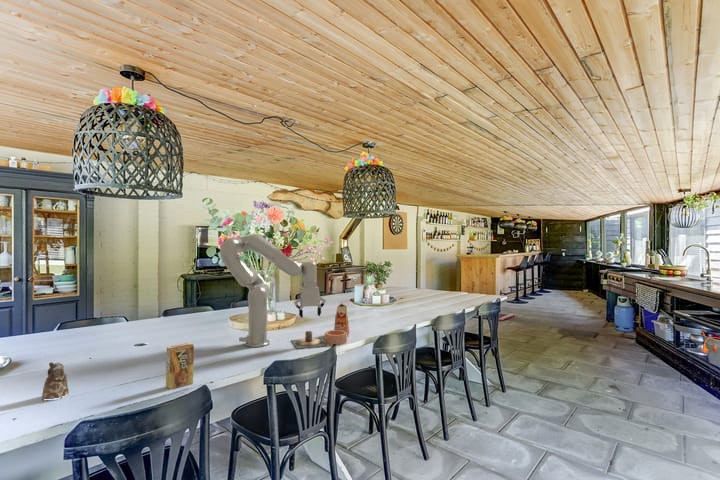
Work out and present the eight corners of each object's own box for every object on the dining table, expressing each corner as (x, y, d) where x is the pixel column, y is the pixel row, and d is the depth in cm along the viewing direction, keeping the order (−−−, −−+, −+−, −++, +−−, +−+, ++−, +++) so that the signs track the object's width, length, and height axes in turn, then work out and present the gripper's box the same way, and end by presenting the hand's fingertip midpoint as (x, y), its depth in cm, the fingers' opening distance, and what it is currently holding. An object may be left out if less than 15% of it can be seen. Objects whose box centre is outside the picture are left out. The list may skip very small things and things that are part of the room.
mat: (297, 349, 192) (297, 348, 192) (291, 341, 207) (291, 340, 207) (327, 346, 198) (327, 345, 198) (319, 338, 213) (319, 337, 213)
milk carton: (348, 336, 218) (349, 302, 218) (332, 336, 218) (333, 302, 218) (349, 332, 227) (350, 299, 227) (334, 332, 228) (334, 299, 227)
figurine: (50, 402, 128) (50, 367, 128) (37, 399, 130) (37, 364, 130) (72, 394, 134) (73, 361, 134) (60, 391, 137) (60, 358, 137)
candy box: (189, 380, 149) (189, 342, 149) (193, 383, 146) (194, 344, 146) (165, 386, 142) (166, 346, 142) (169, 390, 140) (170, 349, 139)
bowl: (328, 345, 199) (328, 336, 199) (322, 339, 210) (322, 331, 210) (349, 343, 204) (349, 334, 204) (342, 338, 215) (342, 329, 215)
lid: (299, 347, 194) (299, 335, 194) (294, 340, 206) (294, 330, 206) (323, 344, 199) (323, 333, 199) (317, 338, 211) (317, 328, 211)
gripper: (295, 286, 196) (295, 319, 196) (327, 284, 202) (327, 316, 202) (292, 284, 203) (292, 316, 203) (323, 283, 209) (323, 313, 209)
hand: (310, 316), depth 202 cm, fingers open, 9 cm apart
